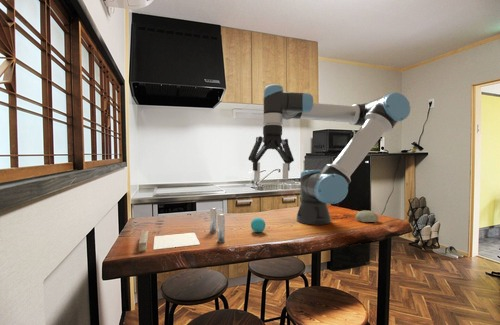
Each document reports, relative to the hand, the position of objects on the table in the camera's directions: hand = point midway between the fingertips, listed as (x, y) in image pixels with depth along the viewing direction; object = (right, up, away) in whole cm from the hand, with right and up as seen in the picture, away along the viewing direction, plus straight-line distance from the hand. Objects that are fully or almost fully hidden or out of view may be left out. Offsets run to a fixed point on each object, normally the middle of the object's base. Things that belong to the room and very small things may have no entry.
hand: (271, 179), depth 95 cm
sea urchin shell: (+45, -21, +16) cm, 52 cm away
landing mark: (-34, -20, -13) cm, 41 cm away
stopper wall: (-43, -20, -17) cm, 50 cm away
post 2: (-18, -20, -14) cm, 30 cm away
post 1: (-23, -20, -3) cm, 30 cm away
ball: (-5, -17, -3) cm, 18 cm away
